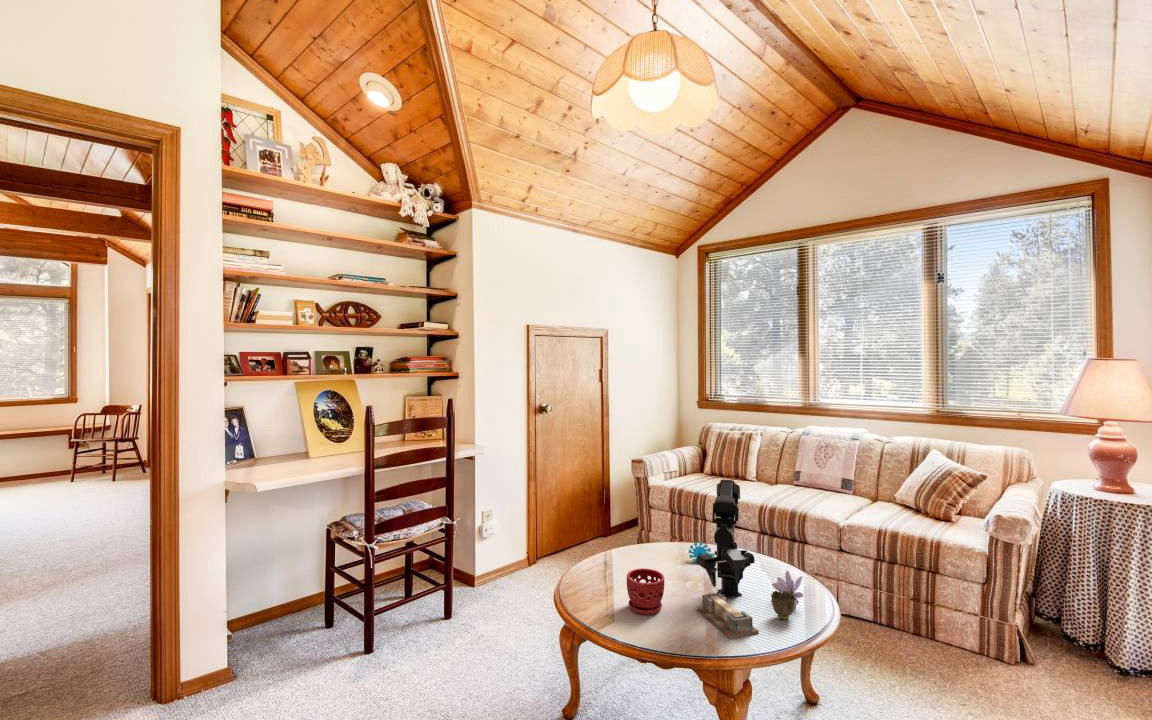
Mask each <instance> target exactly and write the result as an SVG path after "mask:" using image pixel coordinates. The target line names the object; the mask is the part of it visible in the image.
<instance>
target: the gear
mask: <svg viewBox="0 0 1152 720" xmlns="http://www.w3.org/2000/svg"><path fill="white" fill-rule="evenodd" d="M702 545H703V542H701V541H700V542H699V544H698V542H694V543H693V544H692V545H690V546H689V549H688V553H689V559H692V562H693V563H697V557H698V555H705V554H708V555H710V556H711V557H715V556H716V555H715V552H713V553H711V551H712V550H711V548H708V545H707V544H706V543H705V544H704V546H702Z"/></svg>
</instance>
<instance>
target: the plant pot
mask: <svg viewBox="0 0 1152 720" xmlns="http://www.w3.org/2000/svg"><path fill="white" fill-rule="evenodd" d="M649 577H650V579H649ZM642 580H643V581H645V582H641V581H642ZM626 590H627V595H628V598H629V600H628V607H629V608H630V609H631V611H632V612H634V613H637V614H641V615H654V614H657V613H658V612H659V611H660V610H661V609H662V608H663V607H662V606H663V603H662V600H663V597H664V592H665V576H664V573H662V572H660V571H658V570H655V569H652V568H651V569H650V568H644V567H643V568H636V569H632V570H630V571H628V572H627V574H626Z"/></svg>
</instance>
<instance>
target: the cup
mask: <svg viewBox="0 0 1152 720" xmlns="http://www.w3.org/2000/svg"><path fill="white" fill-rule="evenodd" d="M770 597H771V600H772V603H771V605H772V609H773V611H774V613H776V614H777V619H779V620H780V621H788V620H789V619H790V615H792V614H793V613H794V612H793V609H794V601H795V596H794V594H793V595H792V594H791V593H790V594H789V593H788V592H785V591H784V592H783V593H782V592H781V591H777V590H774V591H772V592H771V593H770Z"/></svg>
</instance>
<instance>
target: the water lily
mask: <svg viewBox="0 0 1152 720" xmlns="http://www.w3.org/2000/svg"><path fill="white" fill-rule="evenodd" d="M784 577H785V579H783V578H782V577H780V576H778V577H776V582H773V583H771V587H772V588H773V590H775V591H778V592H779V591H781V593H783V592H784V591H785V592H788V593H789V594H790V593H791V594H792V595H793V594H794V596H795V601H794V609H793V612H792V613H796V612H797V611H796V610H797V604H798V603H799V600H798V599H801V598H803V597H804V594H803V592H801V591H798V592H796V591H797V590H798V589H799V587H800V585H801V582H802V581H803V576H799V577H798V578H797V579H796V580H795V582H794V580H793V579H792V577H791V574H790V572H789V571H788V570H786V571H785V575H784ZM770 602H772V599H771V601H770Z"/></svg>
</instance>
